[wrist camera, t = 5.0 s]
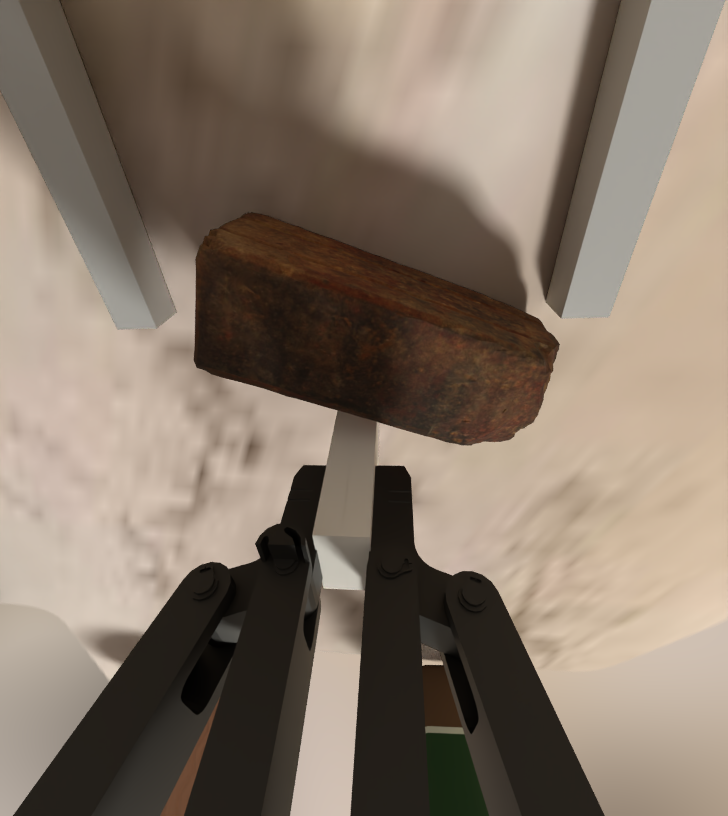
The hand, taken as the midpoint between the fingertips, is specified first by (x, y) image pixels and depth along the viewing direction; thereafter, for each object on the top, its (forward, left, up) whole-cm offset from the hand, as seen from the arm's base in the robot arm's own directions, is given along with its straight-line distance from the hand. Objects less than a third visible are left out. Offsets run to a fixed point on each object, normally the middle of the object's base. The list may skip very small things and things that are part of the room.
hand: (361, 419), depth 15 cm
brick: (+1, +4, -2) cm, 5 cm away
